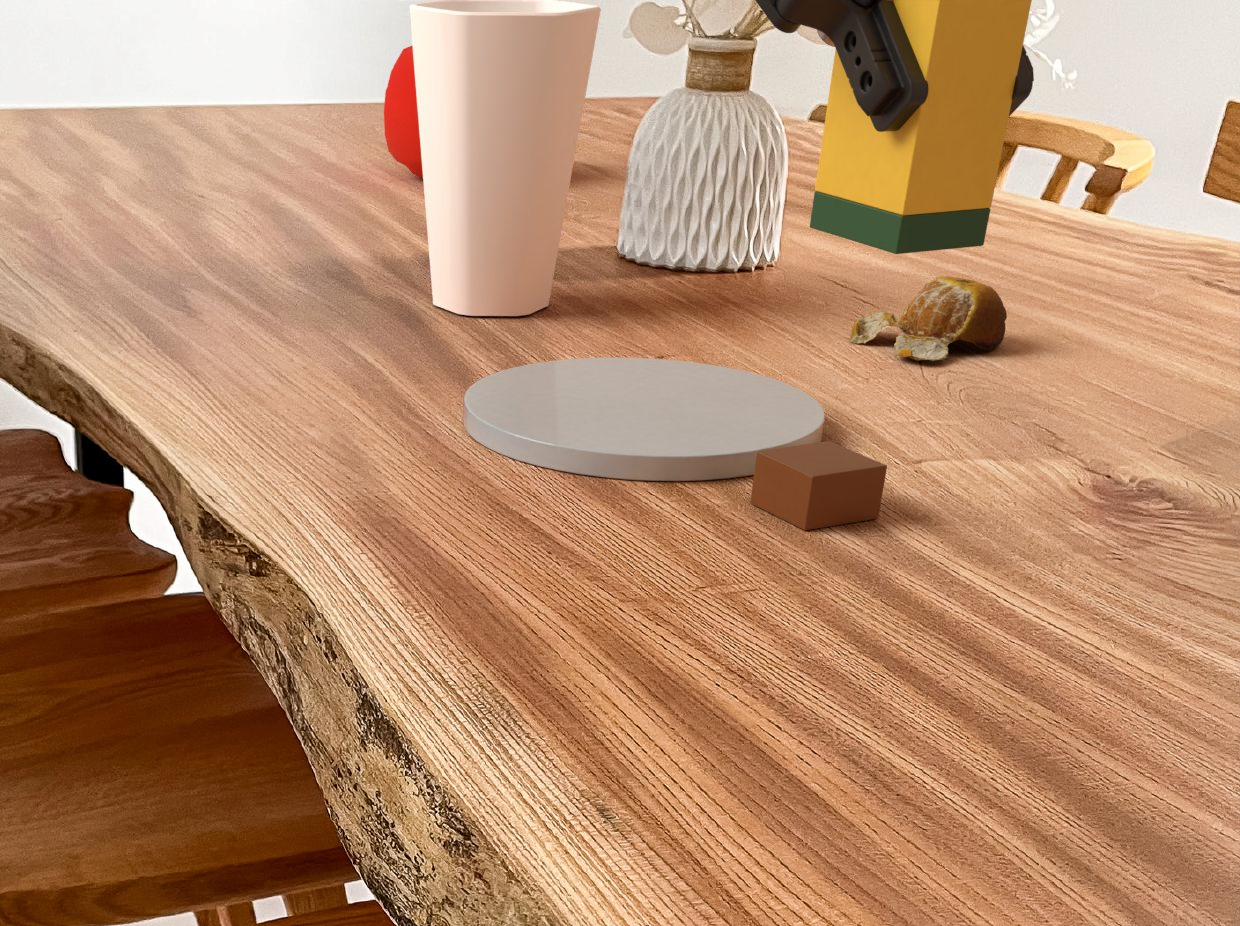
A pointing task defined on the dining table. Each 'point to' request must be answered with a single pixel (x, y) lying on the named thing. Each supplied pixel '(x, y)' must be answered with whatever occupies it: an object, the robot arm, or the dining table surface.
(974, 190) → the sponge
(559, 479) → the dining table surface
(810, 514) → the brown block
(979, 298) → the fruit
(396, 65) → the tomato
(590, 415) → the plate
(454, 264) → the cup
